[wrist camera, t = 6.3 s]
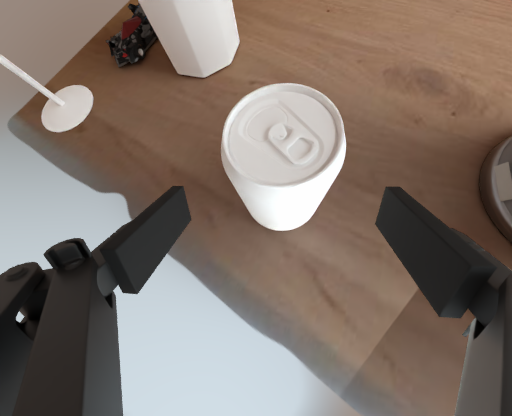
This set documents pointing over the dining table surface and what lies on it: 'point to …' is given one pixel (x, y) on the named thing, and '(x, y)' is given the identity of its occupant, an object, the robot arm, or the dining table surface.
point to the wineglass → (59, 102)
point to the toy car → (132, 38)
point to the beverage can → (283, 152)
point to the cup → (195, 33)
